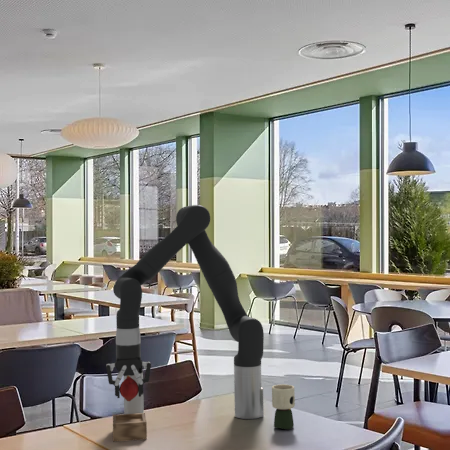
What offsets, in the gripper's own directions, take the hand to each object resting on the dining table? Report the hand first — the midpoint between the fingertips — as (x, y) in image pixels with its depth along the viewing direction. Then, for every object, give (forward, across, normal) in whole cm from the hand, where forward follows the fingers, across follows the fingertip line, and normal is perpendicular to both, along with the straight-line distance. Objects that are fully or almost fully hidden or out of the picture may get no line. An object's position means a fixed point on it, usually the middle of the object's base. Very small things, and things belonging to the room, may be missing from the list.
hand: (129, 396), depth 199 cm
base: (+12, 0, 0) cm, 12 cm away
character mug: (+12, -48, +4) cm, 50 cm away
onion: (+2, 0, 0) cm, 2 cm away
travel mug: (+12, -2, -12) cm, 17 cm away
